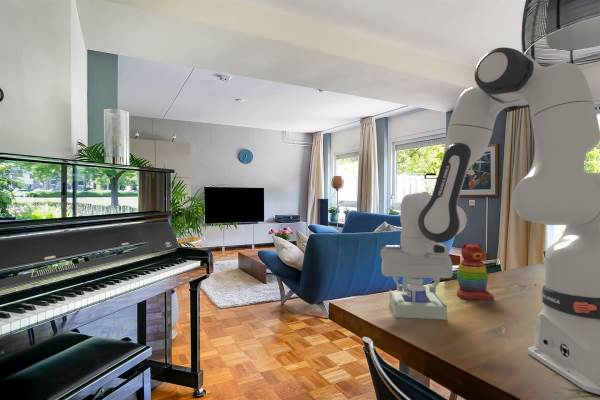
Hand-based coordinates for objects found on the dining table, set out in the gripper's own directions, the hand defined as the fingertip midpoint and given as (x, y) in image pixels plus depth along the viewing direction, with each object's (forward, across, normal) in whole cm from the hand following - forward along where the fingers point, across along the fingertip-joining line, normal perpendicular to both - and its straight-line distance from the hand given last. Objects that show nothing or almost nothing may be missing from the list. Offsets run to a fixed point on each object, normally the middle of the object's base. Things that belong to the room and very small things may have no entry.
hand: (416, 291), depth 100 cm
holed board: (+6, 0, 0) cm, 6 cm away
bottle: (+6, +2, +19) cm, 20 cm away
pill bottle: (+6, 0, 0) cm, 6 cm away
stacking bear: (+6, +22, +18) cm, 29 cm away
